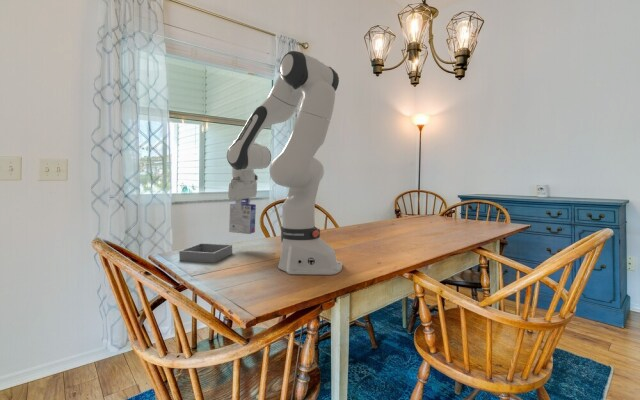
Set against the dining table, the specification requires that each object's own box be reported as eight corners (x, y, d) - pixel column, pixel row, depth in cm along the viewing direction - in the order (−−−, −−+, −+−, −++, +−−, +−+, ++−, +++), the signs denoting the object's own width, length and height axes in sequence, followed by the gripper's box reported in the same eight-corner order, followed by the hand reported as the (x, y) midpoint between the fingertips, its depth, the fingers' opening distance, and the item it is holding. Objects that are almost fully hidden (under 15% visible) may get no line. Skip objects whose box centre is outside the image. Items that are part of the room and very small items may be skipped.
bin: (232, 253, 136) (232, 245, 136) (214, 262, 122) (213, 253, 122) (200, 251, 139) (200, 243, 139) (179, 260, 125) (179, 251, 125)
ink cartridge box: (255, 232, 145) (256, 198, 143) (250, 234, 139) (251, 200, 138) (234, 230, 146) (235, 197, 145) (228, 232, 141) (229, 198, 140)
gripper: (238, 177, 130) (239, 212, 131) (259, 176, 150) (259, 207, 151) (224, 176, 131) (224, 211, 132) (246, 176, 151) (246, 206, 152)
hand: (243, 209), depth 142 cm, fingers closed on ink cartridge box, 5 cm apart
